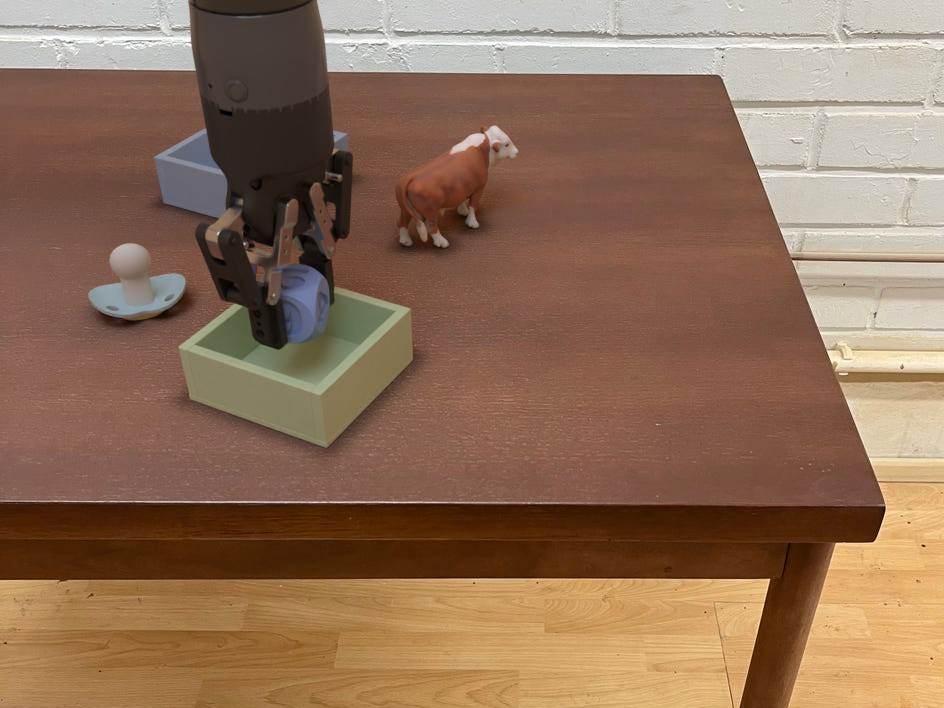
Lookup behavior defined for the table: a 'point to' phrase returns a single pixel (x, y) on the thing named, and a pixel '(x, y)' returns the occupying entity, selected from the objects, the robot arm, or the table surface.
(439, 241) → the bull figurine
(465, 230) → the table surface
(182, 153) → the bluegrey bin
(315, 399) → the sage bin
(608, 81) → the table surface
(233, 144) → the robot arm
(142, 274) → the pacifier
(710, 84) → the table surface
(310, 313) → the decorative dice
